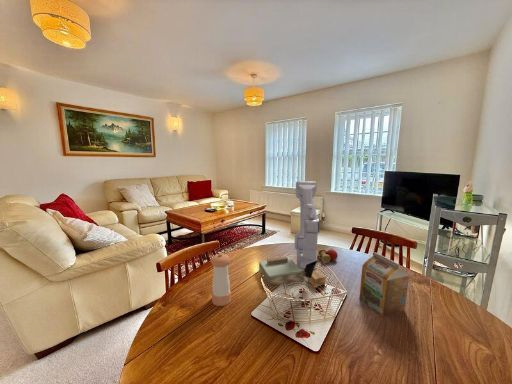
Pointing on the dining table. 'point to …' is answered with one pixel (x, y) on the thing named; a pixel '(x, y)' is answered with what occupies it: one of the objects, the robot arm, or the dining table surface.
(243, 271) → the dining table surface
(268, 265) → the lid
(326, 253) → the kendama
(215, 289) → the salt shaker
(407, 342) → the dining table surface
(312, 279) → the tan block
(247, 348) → the dining table surface
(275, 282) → the toolbox
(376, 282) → the milk carton
